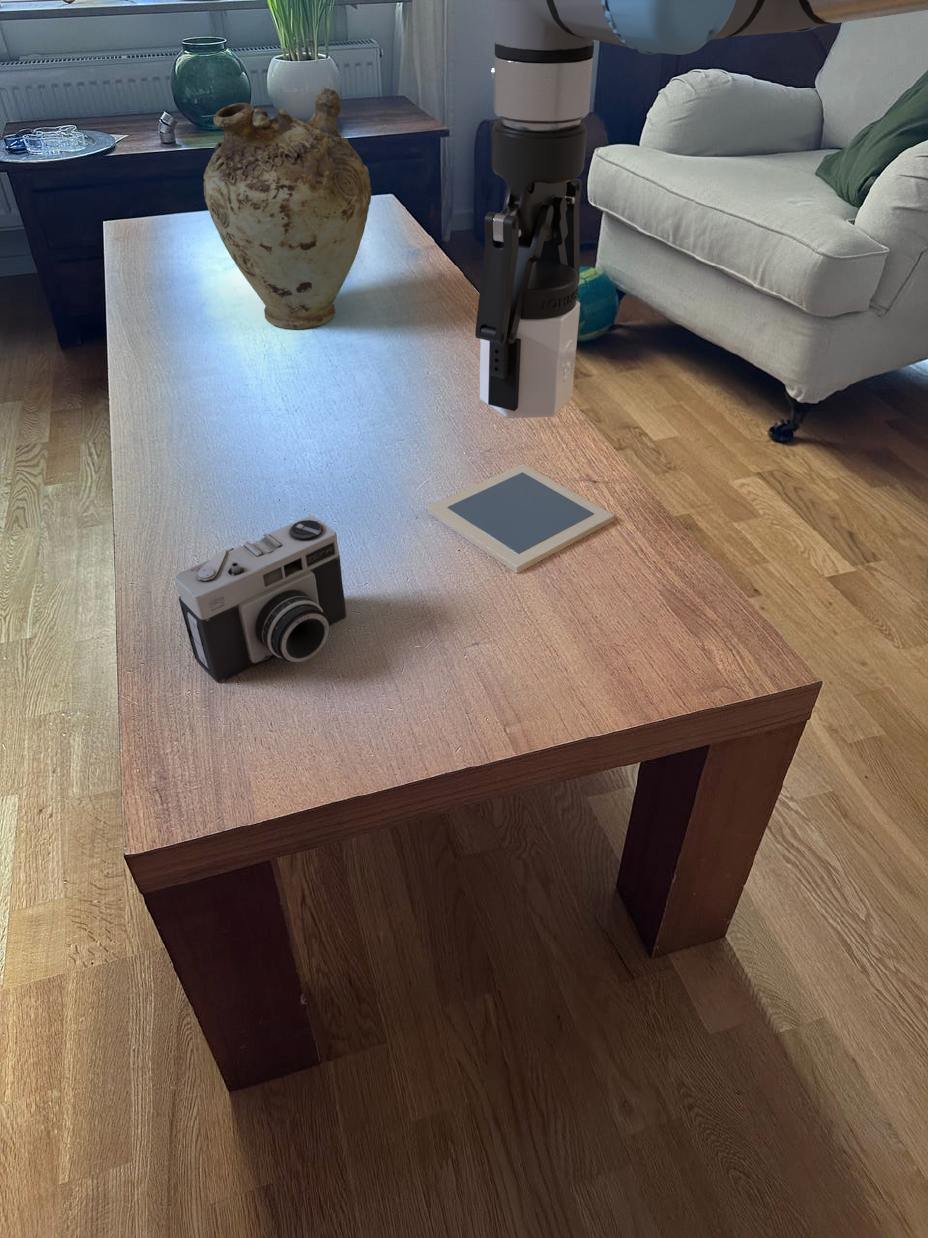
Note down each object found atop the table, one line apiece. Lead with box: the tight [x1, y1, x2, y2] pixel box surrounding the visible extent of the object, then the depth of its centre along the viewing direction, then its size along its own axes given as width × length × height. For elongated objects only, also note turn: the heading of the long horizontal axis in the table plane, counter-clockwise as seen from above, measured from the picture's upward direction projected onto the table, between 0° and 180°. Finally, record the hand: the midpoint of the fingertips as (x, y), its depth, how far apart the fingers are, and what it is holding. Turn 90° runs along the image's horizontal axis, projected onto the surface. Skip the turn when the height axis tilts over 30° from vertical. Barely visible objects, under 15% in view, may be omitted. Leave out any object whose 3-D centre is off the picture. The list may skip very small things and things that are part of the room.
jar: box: [479, 260, 581, 419], centre depth 81 cm, size 9×8×12 cm
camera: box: [174, 515, 347, 684], centre depth 75 cm, size 14×9×10 cm, turn 124°
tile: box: [427, 463, 615, 574], centre depth 94 cm, size 14×14×1 cm
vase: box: [202, 87, 372, 330], centre depth 126 cm, size 23×23×30 cm
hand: (526, 385), depth 84 cm, fingers closed on jar, 9 cm apart
